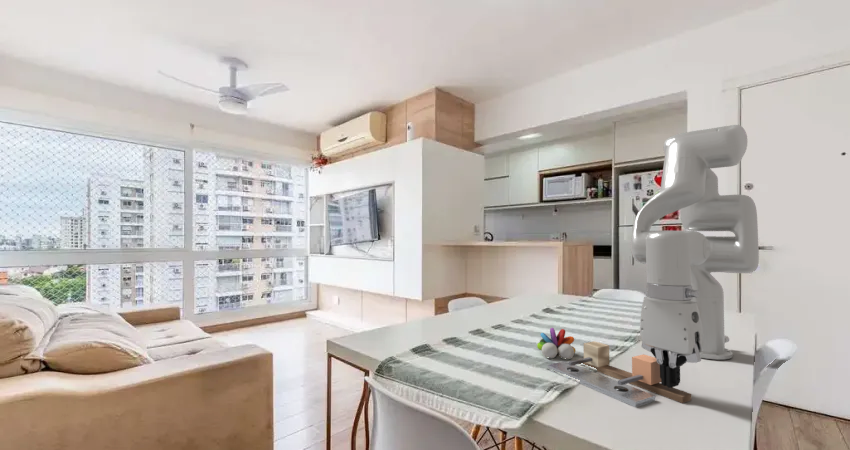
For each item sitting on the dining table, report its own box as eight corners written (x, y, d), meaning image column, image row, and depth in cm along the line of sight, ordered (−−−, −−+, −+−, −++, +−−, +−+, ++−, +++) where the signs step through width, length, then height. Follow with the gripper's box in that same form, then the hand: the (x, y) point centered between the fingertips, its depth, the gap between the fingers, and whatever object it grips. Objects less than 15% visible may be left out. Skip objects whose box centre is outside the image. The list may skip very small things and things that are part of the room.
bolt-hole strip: (565, 365, 91) (565, 360, 91) (655, 400, 71) (655, 395, 71) (547, 369, 88) (546, 364, 88) (635, 407, 68) (635, 401, 69)
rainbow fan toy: (578, 362, 93) (578, 333, 94) (539, 359, 95) (538, 331, 96) (572, 351, 102) (571, 325, 102) (535, 349, 104) (535, 323, 104)
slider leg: (643, 375, 80) (643, 354, 80) (662, 381, 77) (662, 359, 77) (610, 384, 75) (610, 362, 75) (629, 391, 72) (628, 368, 72)
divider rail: (588, 362, 93) (587, 339, 93) (692, 399, 72) (692, 370, 72) (556, 369, 88) (556, 345, 88) (658, 411, 67) (658, 380, 67)
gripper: (721, 296, 69) (724, 396, 69) (643, 287, 82) (644, 370, 82) (699, 300, 66) (702, 404, 65) (621, 289, 79) (623, 375, 79)
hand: (670, 385), depth 74 cm, fingers closed
